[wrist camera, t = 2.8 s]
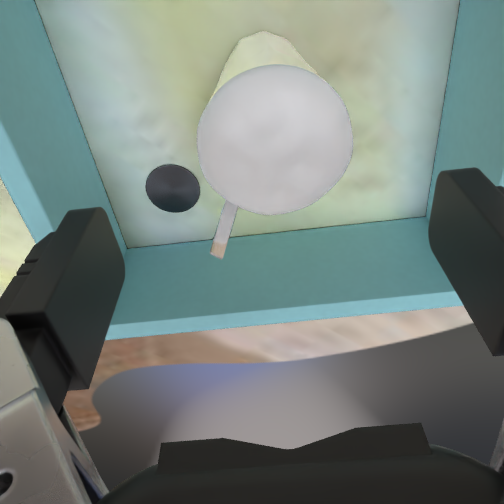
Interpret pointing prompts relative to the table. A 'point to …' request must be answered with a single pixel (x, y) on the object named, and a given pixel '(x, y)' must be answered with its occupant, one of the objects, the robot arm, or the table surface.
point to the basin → (255, 246)
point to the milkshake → (271, 133)
